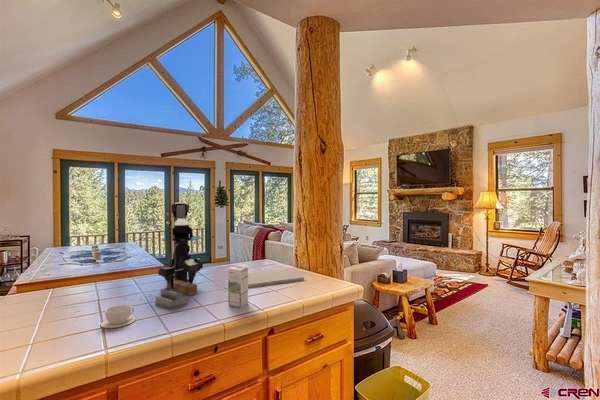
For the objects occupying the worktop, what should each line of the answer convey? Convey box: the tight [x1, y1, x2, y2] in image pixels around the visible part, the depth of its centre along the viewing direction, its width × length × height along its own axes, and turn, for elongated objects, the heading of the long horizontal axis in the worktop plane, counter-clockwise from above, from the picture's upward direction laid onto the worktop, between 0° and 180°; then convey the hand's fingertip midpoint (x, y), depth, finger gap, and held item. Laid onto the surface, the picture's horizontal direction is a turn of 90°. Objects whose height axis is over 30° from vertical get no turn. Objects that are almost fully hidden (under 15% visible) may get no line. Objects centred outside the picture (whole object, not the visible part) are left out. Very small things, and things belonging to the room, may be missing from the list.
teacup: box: [100, 304, 136, 329], centre depth 99 cm, size 10×10×5 cm
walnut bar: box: [166, 279, 198, 297], centre depth 132 cm, size 16×4×4 cm, turn 56°
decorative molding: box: [248, 267, 305, 288], centre depth 147 cm, size 34×5×10 cm
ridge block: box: [155, 287, 188, 310], centre depth 116 cm, size 10×7×5 cm
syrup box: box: [227, 265, 249, 308], centre depth 115 cm, size 6×6×14 cm
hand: (181, 287), depth 132 cm, fingers open, 9 cm apart
